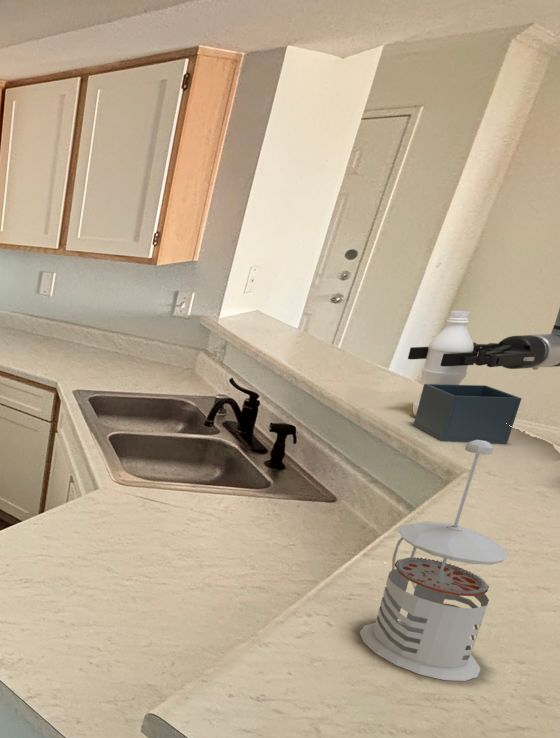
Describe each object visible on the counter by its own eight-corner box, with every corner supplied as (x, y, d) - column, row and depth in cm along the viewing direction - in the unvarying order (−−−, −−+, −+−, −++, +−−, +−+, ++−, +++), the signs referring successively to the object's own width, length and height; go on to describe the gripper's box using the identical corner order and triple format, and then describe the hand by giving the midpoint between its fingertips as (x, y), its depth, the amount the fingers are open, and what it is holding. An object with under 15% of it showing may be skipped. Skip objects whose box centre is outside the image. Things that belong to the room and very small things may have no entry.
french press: (385, 671, 63) (448, 454, 55) (337, 608, 73) (384, 418, 65) (505, 689, 60) (589, 461, 52) (437, 620, 70) (499, 422, 62)
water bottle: (413, 420, 137) (442, 312, 129) (407, 412, 142) (434, 308, 135) (456, 424, 133) (488, 313, 125) (448, 416, 138) (478, 309, 131)
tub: (473, 428, 130) (486, 385, 127) (507, 443, 121) (521, 398, 118) (413, 425, 134) (424, 383, 131) (441, 440, 124) (453, 396, 121)
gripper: (575, 377, 124) (467, 383, 125) (477, 359, 143) (383, 363, 144) (587, 342, 122) (477, 348, 122) (486, 328, 141) (391, 333, 141)
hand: (426, 356), depth 133 cm, fingers closed on water bottle, 7 cm apart
